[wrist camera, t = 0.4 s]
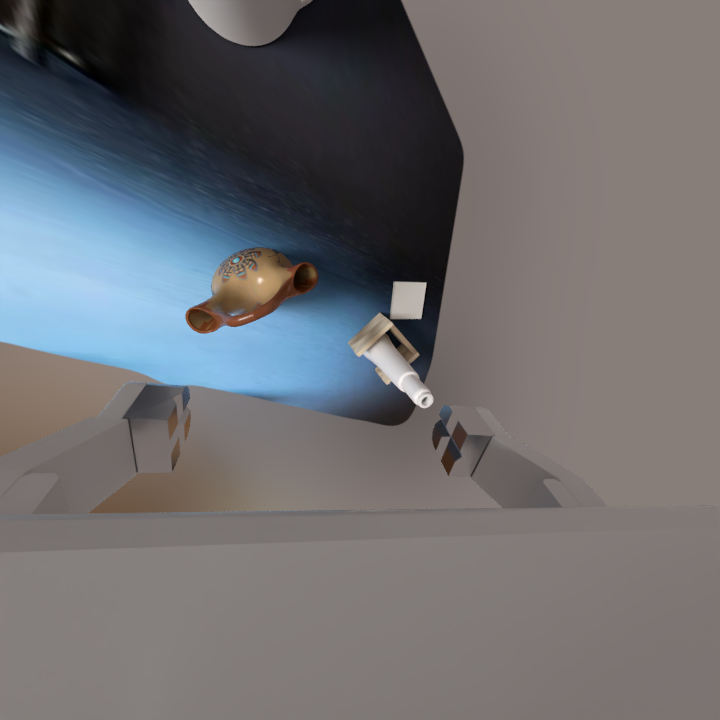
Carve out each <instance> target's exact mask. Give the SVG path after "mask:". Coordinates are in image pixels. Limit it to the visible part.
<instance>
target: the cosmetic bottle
mask: <svg viewBox="0 0 720 720" xmlns="http://www.w3.org/2000/svg"><path fill="white" fill-rule="evenodd" d="M363 354H364V356H365V357H366V358H368V359H369V360H371V361H372V362H373V363H375V364H376V365H377V366H378V367H379V368H380V369H381V370H382V371H383V372H384V373H385V375H386V376H387V377H388V378H389V379H390V380H391V381H392V382H393V383H394V384H395V385H396V386H397V387H398V388H399V389H400V390H401V391H403V392H406V393H407V394H408V396H409V397H410V398H411V399H412V400H413V402H414V403H415V404H417V405H419V406H420V407H422V408H427V407H429V406H430V405H431V404H432V403H433V396H432V395H431V392H430V390H429V389H428V388H427V387H425V385H424V384H423V383H422V382H421V381H420V380H419V376H418V374H417V373H416V372H415V370H414V369H413V368H412V367H411V366H410V364H409V363H408V362H407V361H406V360H405V359H404V358H403V356H402V355H401V354H400V353H399V352H398V351H397V349H396V348H395V347H394V345H393V344H392V342H391V340H390V338H389V336H388V335H387V334H386V333H384V334H383V335H382V336H381V337H380V338H379V339H378V340H377V341H376V342H375V343H374V344H373V345H371V346H370V347H369V348H368V349H367V350H366V351H365V352H364V353H363Z"/></svg>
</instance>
